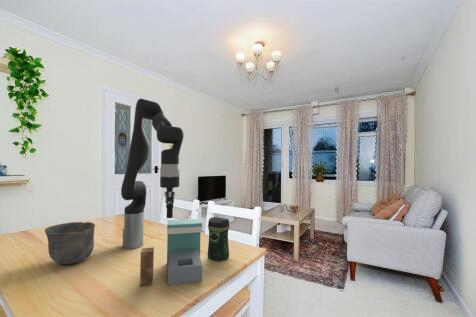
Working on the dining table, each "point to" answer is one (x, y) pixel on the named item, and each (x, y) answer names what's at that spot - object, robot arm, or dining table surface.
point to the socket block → (184, 267)
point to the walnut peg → (146, 266)
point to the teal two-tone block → (183, 235)
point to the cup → (70, 241)
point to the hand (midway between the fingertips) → (169, 215)
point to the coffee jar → (218, 239)
